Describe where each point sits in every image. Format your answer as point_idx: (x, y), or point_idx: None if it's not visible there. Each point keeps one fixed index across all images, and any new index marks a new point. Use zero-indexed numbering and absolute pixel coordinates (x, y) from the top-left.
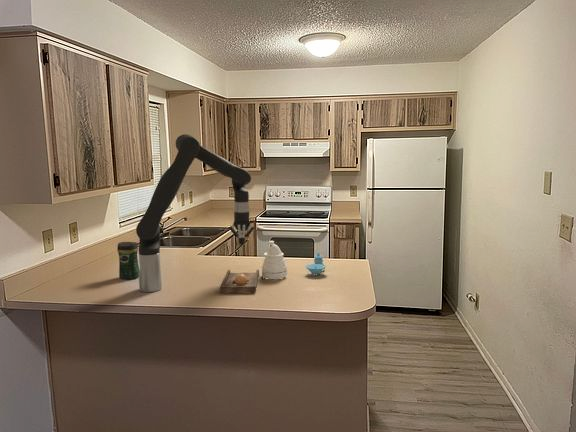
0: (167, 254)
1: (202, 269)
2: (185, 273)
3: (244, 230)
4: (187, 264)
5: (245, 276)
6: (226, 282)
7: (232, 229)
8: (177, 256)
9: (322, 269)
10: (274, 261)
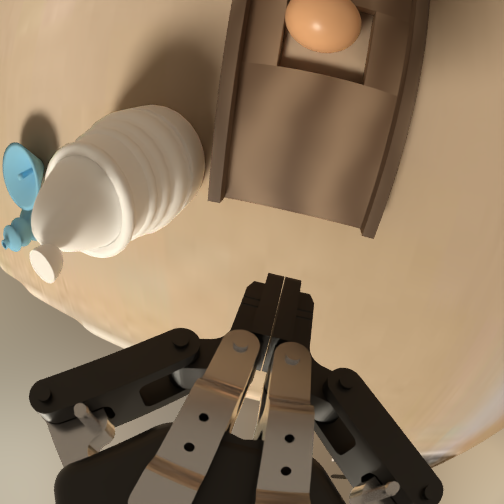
0: (435, 433)
1: (431, 331)
2: (492, 300)
3: (184, 422)
4: (442, 379)
5: (295, 2)
6: (401, 62)
7: (400, 474)
8: (426, 425)
9: (9, 154)
10: (95, 135)
